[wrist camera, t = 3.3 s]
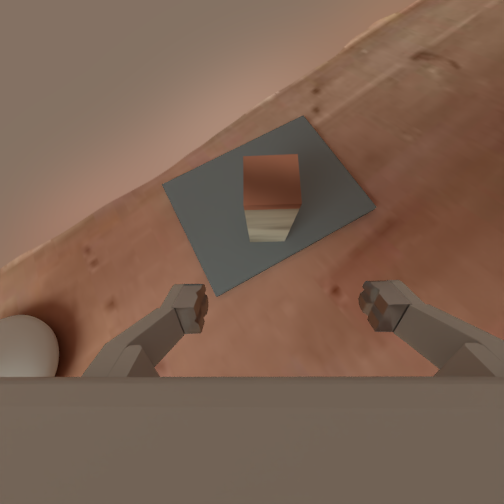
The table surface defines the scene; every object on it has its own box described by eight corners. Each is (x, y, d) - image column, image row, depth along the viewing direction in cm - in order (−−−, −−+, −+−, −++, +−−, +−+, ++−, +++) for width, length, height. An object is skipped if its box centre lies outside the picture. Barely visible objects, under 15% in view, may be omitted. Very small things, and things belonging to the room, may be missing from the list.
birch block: (249, 210, 25) (243, 156, 15) (282, 209, 25) (297, 154, 15) (250, 242, 24) (243, 205, 14) (284, 241, 24) (301, 203, 14)
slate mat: (302, 120, 29) (303, 115, 28) (373, 210, 25) (376, 207, 24) (164, 187, 27) (161, 184, 26) (217, 296, 23) (216, 296, 22)
